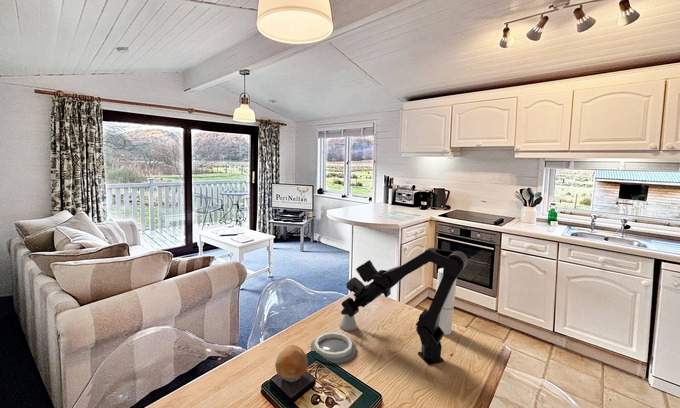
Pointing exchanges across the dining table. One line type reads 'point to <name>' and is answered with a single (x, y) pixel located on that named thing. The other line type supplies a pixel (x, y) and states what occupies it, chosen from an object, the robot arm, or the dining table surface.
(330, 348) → the grey round shallow dish
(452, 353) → the dining table surface
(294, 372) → the onion
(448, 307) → the cylindrical container
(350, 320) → the flask
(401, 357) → the dining table surface
